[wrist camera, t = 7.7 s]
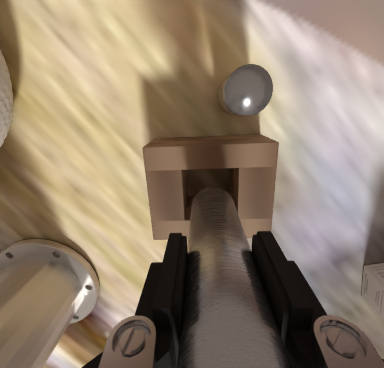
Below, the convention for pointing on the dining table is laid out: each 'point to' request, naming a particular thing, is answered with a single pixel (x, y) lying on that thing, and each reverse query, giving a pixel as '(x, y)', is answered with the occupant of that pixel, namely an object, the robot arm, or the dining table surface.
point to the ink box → (374, 287)
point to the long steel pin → (225, 294)
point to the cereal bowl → (5, 100)
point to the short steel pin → (246, 90)
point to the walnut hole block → (210, 159)
